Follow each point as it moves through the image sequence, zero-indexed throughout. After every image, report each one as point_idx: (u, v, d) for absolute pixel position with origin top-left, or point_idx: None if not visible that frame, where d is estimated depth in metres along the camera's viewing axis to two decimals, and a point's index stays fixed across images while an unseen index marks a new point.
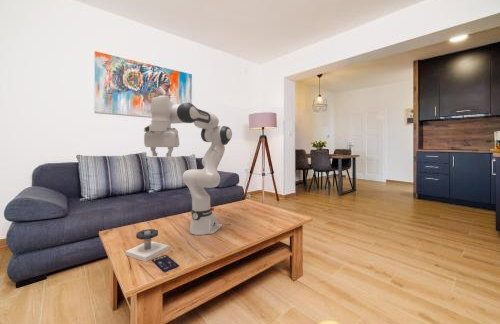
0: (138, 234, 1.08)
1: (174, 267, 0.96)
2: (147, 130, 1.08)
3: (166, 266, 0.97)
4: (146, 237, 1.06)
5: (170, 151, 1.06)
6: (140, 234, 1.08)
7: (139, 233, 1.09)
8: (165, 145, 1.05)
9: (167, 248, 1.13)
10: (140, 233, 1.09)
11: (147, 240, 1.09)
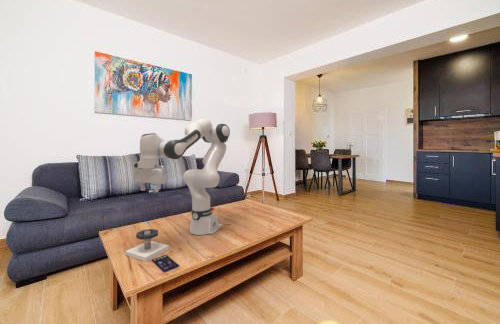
0: (138, 234, 1.08)
1: (174, 267, 0.96)
2: (136, 166, 1.13)
3: (166, 266, 0.97)
4: (146, 237, 1.06)
5: (157, 187, 1.12)
6: (140, 234, 1.08)
7: (139, 233, 1.09)
8: (152, 181, 1.11)
9: (167, 248, 1.13)
10: (140, 233, 1.09)
11: (147, 240, 1.09)
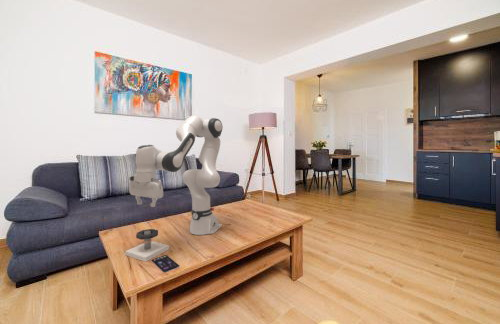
0: (138, 234, 1.08)
1: (174, 267, 0.96)
2: (132, 179, 1.08)
3: (166, 266, 0.97)
4: (146, 237, 1.06)
5: (154, 201, 1.07)
6: (140, 234, 1.08)
7: (139, 233, 1.09)
8: (149, 196, 1.06)
9: (167, 248, 1.13)
10: (140, 233, 1.09)
11: (147, 240, 1.09)
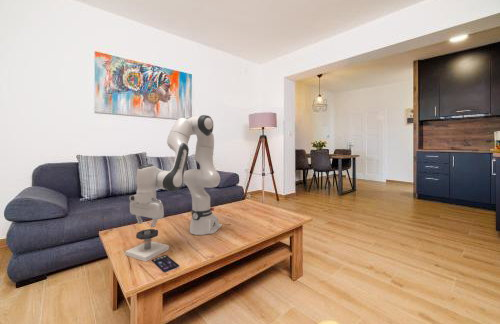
0: (138, 234, 1.08)
1: (174, 267, 0.96)
2: (132, 199, 1.08)
3: (166, 266, 0.97)
4: (146, 237, 1.06)
5: (155, 221, 1.07)
6: (140, 234, 1.08)
7: (139, 233, 1.09)
8: (150, 216, 1.06)
9: (167, 248, 1.13)
10: (140, 233, 1.09)
11: (147, 240, 1.09)
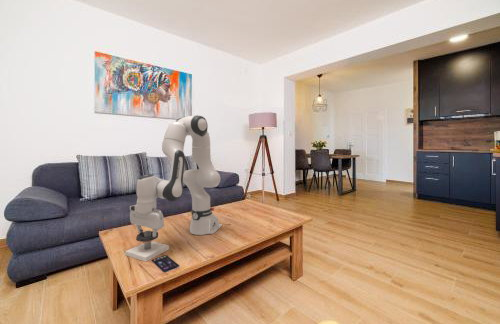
0: (138, 236, 1.08)
1: (174, 267, 0.96)
2: (132, 209, 1.09)
3: (166, 266, 0.97)
4: (146, 239, 1.06)
5: (155, 231, 1.07)
6: (140, 236, 1.08)
7: (139, 235, 1.09)
8: (150, 226, 1.06)
9: (167, 248, 1.13)
10: (140, 235, 1.09)
11: None
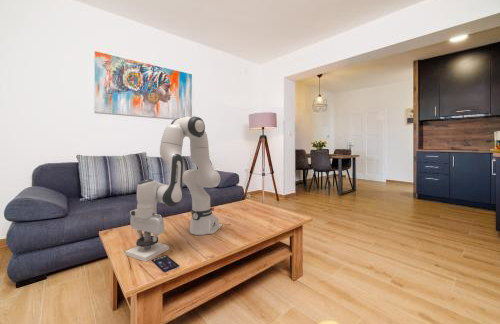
0: (139, 241, 1.08)
1: (174, 267, 0.96)
2: (133, 214, 1.09)
3: (166, 266, 0.97)
4: (146, 244, 1.06)
5: (155, 236, 1.07)
6: (140, 241, 1.08)
7: (139, 240, 1.09)
8: (150, 231, 1.06)
9: (167, 248, 1.13)
10: (140, 240, 1.10)
11: (147, 240, 1.09)
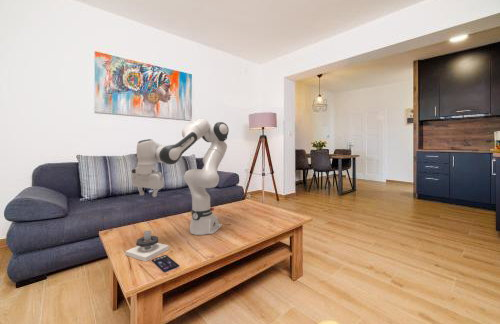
0: (139, 241, 1.08)
1: (174, 267, 0.96)
2: (134, 172, 1.17)
3: (166, 266, 0.97)
4: (146, 244, 1.06)
5: (155, 192, 1.15)
6: (140, 241, 1.08)
7: (139, 240, 1.09)
8: (151, 187, 1.14)
9: (167, 248, 1.13)
10: (140, 240, 1.10)
11: (147, 240, 1.09)
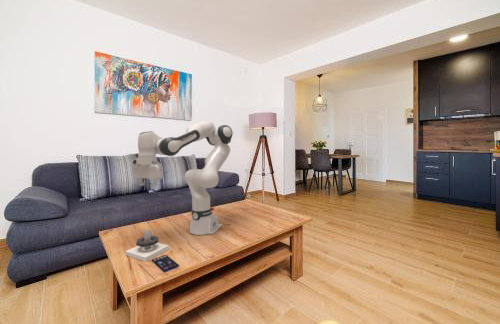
0: (139, 241, 1.08)
1: (174, 267, 0.96)
2: (134, 163, 1.20)
3: (166, 266, 0.97)
4: (146, 244, 1.06)
5: (155, 182, 1.18)
6: (140, 241, 1.08)
7: (139, 240, 1.09)
8: (150, 177, 1.17)
9: (167, 248, 1.13)
10: (140, 240, 1.10)
11: (147, 240, 1.09)
